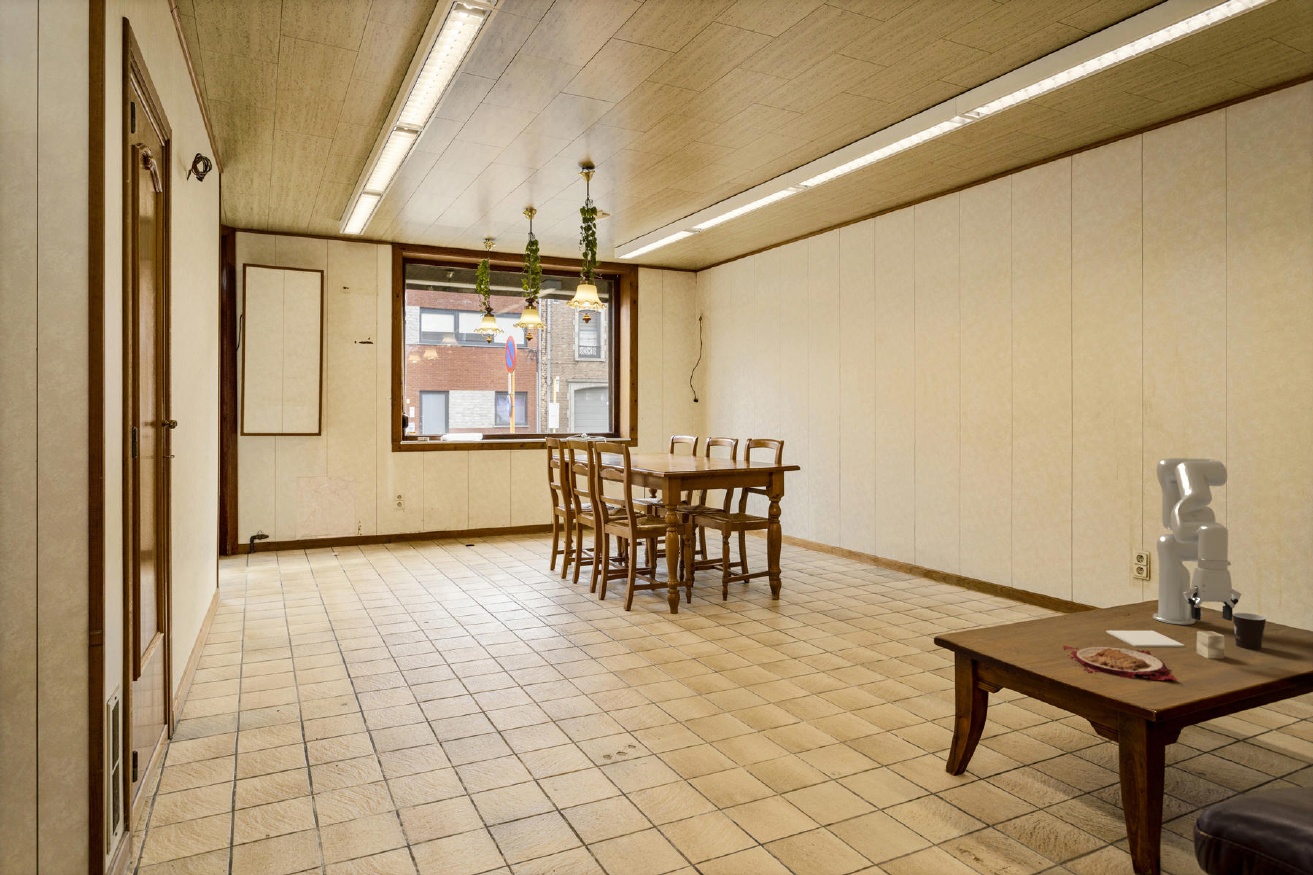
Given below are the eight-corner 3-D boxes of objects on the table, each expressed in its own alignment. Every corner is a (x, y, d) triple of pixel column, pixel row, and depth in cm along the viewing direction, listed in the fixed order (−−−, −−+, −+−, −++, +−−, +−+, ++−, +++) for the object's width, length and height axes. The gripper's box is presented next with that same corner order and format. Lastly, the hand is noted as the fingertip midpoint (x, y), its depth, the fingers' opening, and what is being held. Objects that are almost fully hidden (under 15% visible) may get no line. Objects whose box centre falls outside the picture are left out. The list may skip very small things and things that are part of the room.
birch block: (1212, 653, 243) (1212, 631, 243) (1223, 658, 238) (1224, 636, 238) (1196, 653, 243) (1197, 631, 243) (1207, 658, 238) (1208, 636, 238)
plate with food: (1149, 657, 242) (1149, 645, 242) (1177, 683, 217) (1177, 671, 217) (1062, 650, 249) (1062, 639, 249) (1080, 675, 224) (1080, 663, 224)
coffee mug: (1260, 652, 243) (1260, 621, 243) (1227, 645, 250) (1228, 615, 250) (1272, 645, 250) (1273, 615, 250) (1240, 639, 257) (1241, 609, 257)
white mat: (1152, 632, 265) (1152, 630, 265) (1184, 646, 249) (1184, 644, 249) (1106, 632, 266) (1106, 630, 266) (1134, 646, 250) (1134, 644, 250)
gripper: (1231, 563, 243) (1230, 616, 243) (1176, 562, 243) (1175, 616, 243) (1249, 567, 235) (1248, 622, 236) (1192, 566, 236) (1191, 622, 236)
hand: (1211, 619), depth 239 cm, fingers open, 9 cm apart
